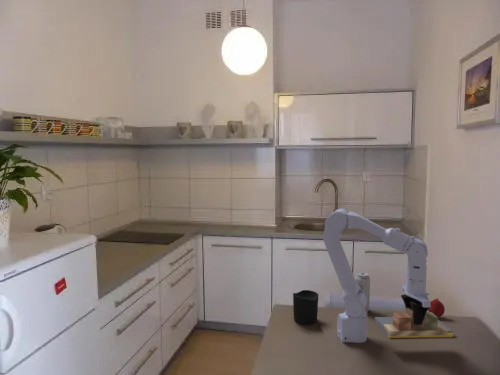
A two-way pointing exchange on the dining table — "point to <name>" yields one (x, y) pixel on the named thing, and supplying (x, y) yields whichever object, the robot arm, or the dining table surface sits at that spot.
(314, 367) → the dining table surface
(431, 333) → the board
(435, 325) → the block
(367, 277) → the energy drink can
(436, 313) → the onion
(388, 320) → the dock
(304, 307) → the pen holder
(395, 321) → the block
